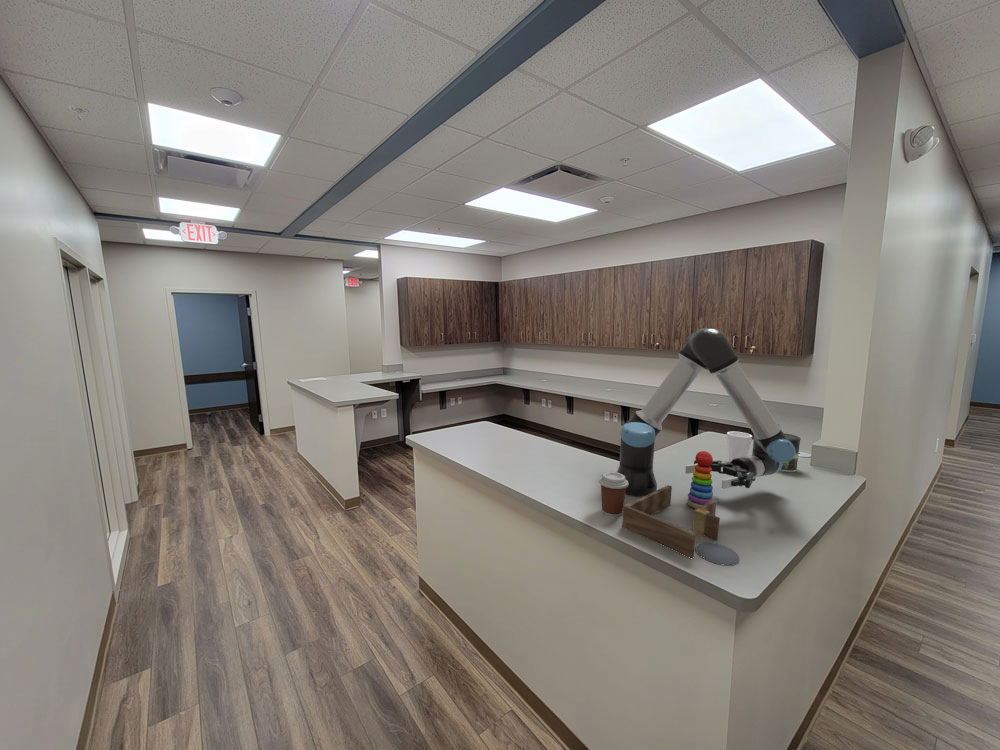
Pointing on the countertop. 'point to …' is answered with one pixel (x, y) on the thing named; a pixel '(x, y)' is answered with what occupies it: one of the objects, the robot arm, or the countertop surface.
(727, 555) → the pad
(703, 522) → the corner post
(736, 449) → the foam cup
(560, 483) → the countertop surface
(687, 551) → the brown open angular frame
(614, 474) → the coffee cup
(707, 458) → the stacking toy
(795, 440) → the coffee can
